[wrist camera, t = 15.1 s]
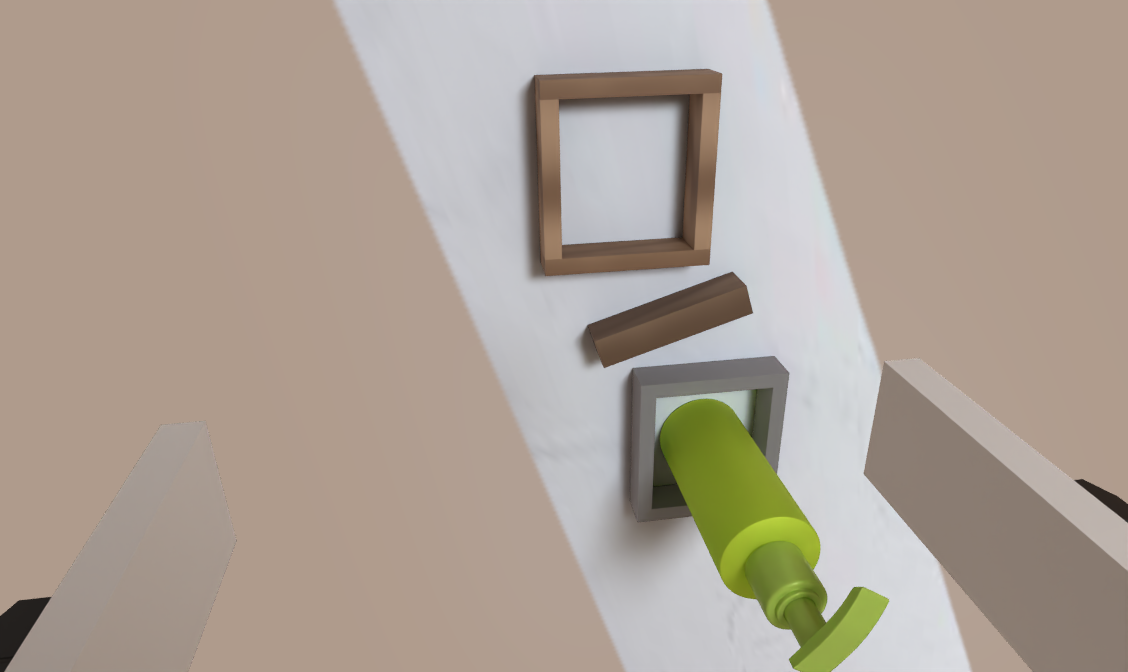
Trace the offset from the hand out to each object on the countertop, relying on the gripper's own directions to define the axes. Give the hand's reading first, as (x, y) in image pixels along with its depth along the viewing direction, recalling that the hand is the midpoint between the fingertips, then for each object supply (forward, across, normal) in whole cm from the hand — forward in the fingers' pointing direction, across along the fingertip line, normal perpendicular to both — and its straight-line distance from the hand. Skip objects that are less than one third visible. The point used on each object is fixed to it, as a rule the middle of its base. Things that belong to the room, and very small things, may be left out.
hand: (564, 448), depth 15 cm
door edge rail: (+32, +11, -12) cm, 35 cm away
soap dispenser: (+32, +14, -21) cm, 41 cm away
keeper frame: (+32, +14, -21) cm, 41 cm away
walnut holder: (+32, +8, -2) cm, 33 cm away
